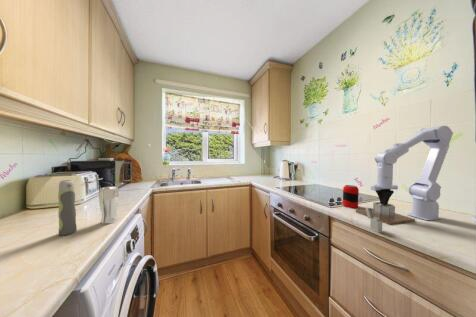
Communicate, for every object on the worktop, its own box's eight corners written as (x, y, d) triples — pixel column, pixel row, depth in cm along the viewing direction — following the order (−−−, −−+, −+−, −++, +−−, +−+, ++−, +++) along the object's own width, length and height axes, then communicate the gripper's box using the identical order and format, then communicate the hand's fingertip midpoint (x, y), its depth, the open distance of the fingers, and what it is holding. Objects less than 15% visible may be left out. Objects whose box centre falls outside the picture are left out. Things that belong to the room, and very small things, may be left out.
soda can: (343, 203, 107) (343, 184, 106) (358, 205, 102) (358, 185, 102) (342, 206, 101) (342, 186, 100) (357, 209, 96) (358, 187, 96)
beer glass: (122, 220, 79) (122, 187, 78) (105, 225, 72) (104, 190, 72) (113, 217, 81) (112, 185, 81) (96, 222, 75) (95, 188, 75)
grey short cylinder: (381, 212, 88) (381, 202, 88) (391, 215, 84) (391, 205, 84) (375, 213, 87) (375, 203, 87) (385, 216, 83) (385, 206, 82)
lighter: (382, 233, 68) (383, 212, 67) (377, 232, 68) (378, 212, 67) (368, 225, 75) (369, 207, 75) (364, 225, 75) (365, 207, 75)
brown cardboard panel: (379, 210, 95) (379, 199, 95) (415, 221, 80) (415, 208, 79) (355, 212, 91) (356, 200, 91) (388, 224, 76) (388, 210, 76)
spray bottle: (61, 237, 62) (59, 182, 62) (56, 234, 65) (55, 180, 64) (78, 231, 67) (77, 180, 66) (73, 229, 69) (72, 179, 68)
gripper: (387, 175, 90) (386, 201, 91) (365, 176, 87) (364, 202, 87) (403, 177, 84) (401, 205, 84) (379, 178, 80) (378, 207, 81)
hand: (383, 204), depth 85 cm, fingers closed, pressing on grey short cylinder
